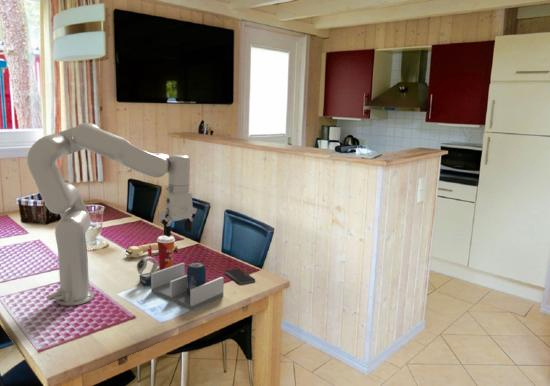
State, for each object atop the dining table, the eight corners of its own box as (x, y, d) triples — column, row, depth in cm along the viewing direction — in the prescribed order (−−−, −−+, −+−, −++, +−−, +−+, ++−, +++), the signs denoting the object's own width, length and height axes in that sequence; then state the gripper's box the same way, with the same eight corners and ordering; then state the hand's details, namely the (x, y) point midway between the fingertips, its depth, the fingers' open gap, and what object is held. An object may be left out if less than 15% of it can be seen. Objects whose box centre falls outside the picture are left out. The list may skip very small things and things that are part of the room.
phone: (239, 283, 179) (223, 271, 191) (239, 286, 179) (223, 273, 191) (256, 280, 183) (239, 268, 195) (256, 282, 183) (239, 270, 195)
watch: (135, 283, 176) (134, 257, 174) (153, 278, 181) (153, 253, 179) (141, 288, 172) (141, 261, 170) (160, 283, 178) (159, 257, 175)
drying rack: (192, 310, 156) (192, 290, 154) (151, 291, 169) (151, 273, 168) (223, 295, 168) (223, 277, 167) (183, 279, 182) (182, 262, 180)
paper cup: (170, 271, 190) (170, 240, 187) (154, 269, 191) (153, 239, 188) (178, 265, 197) (177, 235, 194) (162, 263, 198) (161, 234, 196)
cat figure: (170, 249, 223) (121, 254, 207) (171, 232, 221) (122, 236, 205) (179, 254, 215) (129, 260, 199) (180, 237, 214) (130, 241, 198)
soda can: (203, 289, 169) (203, 260, 167) (207, 297, 163) (207, 266, 161) (185, 291, 167) (185, 261, 165) (188, 299, 161) (188, 268, 158)
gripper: (166, 193, 152) (165, 240, 155) (203, 188, 165) (201, 231, 169) (152, 189, 156) (152, 235, 160) (190, 184, 170) (188, 227, 173)
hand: (177, 233), depth 164 cm, fingers open, 9 cm apart
